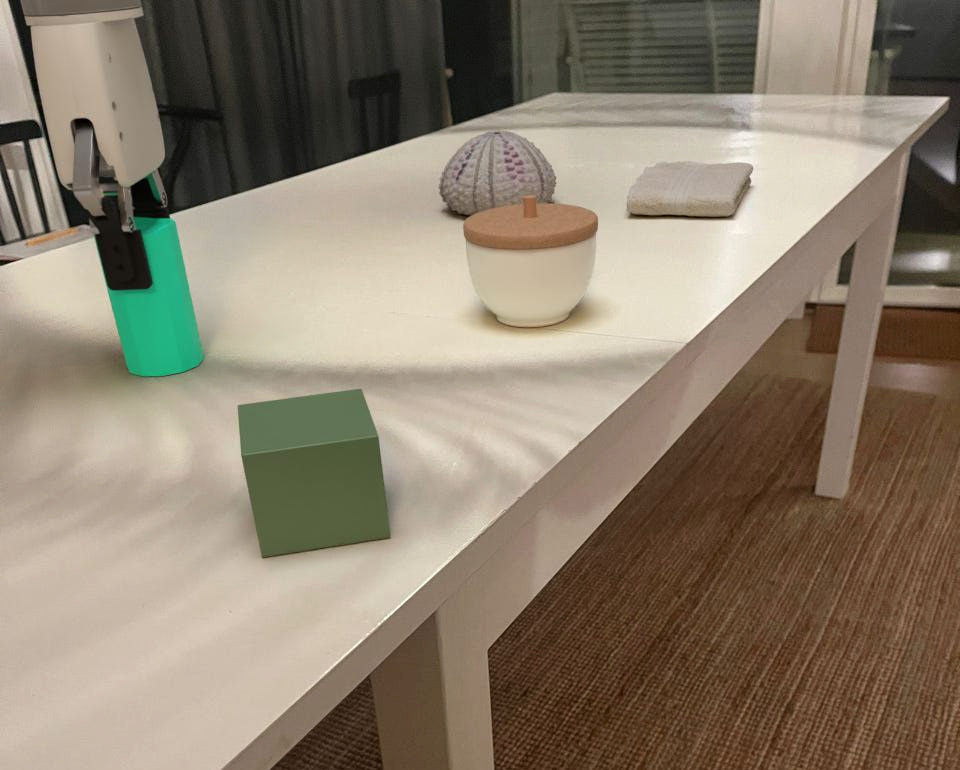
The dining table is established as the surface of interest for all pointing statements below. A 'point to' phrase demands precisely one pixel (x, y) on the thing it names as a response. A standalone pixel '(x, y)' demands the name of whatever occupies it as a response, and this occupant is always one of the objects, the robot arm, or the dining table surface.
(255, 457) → the block
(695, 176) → the washcloth
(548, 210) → the trinket box
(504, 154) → the sea urchin shell
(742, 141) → the dining table surface
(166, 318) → the candle
